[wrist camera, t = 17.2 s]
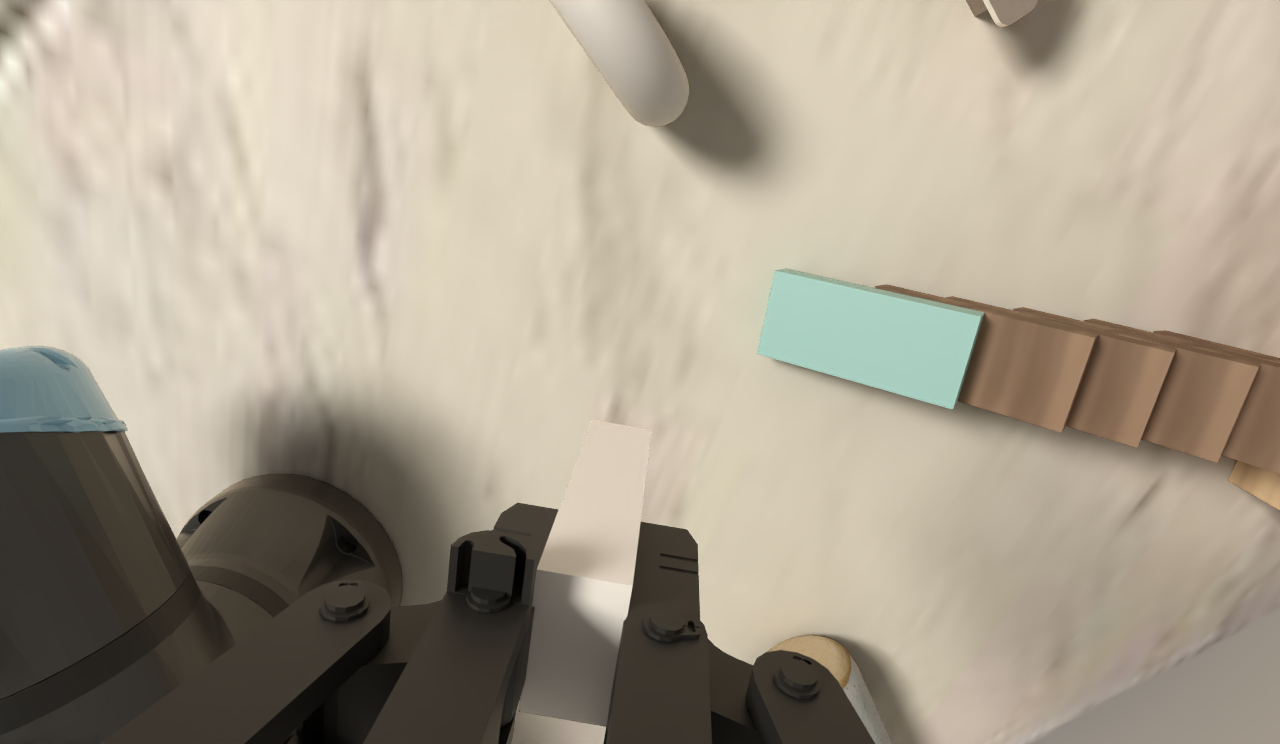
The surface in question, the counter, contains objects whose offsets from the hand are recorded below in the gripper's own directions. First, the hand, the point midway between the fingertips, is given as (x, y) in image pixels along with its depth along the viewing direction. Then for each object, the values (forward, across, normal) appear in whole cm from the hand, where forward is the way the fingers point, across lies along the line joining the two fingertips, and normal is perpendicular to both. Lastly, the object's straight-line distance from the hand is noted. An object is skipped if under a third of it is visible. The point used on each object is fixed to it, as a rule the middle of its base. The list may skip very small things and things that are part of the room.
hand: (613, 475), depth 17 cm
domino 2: (+25, +17, 0) cm, 30 cm away
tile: (+25, +7, 0) cm, 26 cm away
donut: (+27, -4, +13) cm, 30 cm away
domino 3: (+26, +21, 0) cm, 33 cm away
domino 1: (+25, +13, 0) cm, 28 cm away
